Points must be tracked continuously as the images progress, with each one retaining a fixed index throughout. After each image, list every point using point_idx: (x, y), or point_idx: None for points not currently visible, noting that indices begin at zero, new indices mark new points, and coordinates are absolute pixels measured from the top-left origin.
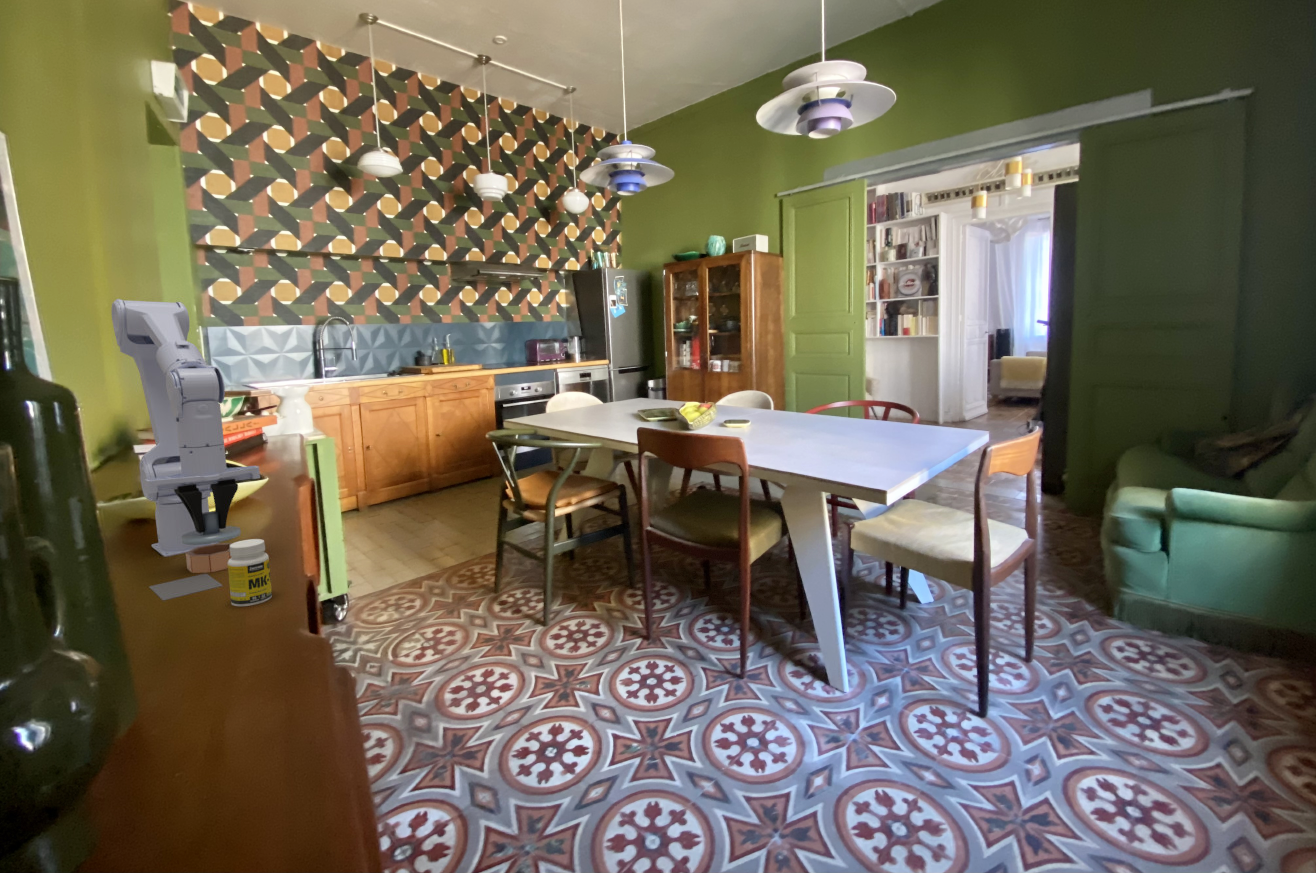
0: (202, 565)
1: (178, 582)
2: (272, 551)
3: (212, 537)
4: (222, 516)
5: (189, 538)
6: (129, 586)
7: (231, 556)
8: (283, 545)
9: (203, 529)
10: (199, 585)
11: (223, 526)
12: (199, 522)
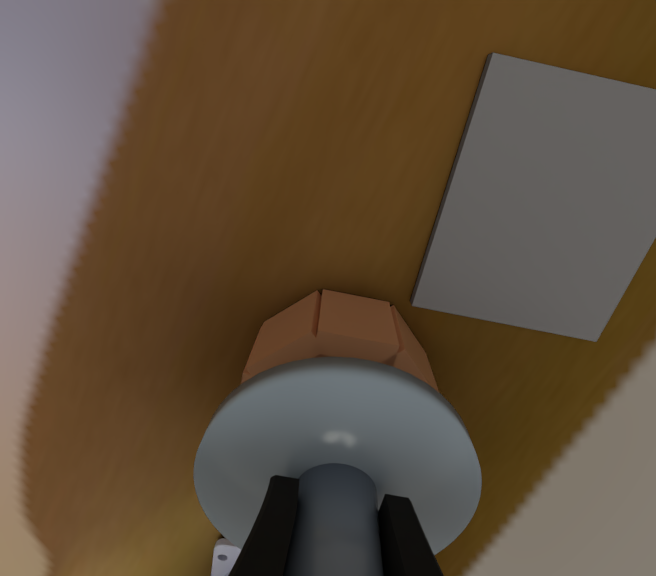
0: (413, 344)
1: (528, 291)
2: (118, 364)
3: (396, 400)
4: (278, 553)
5: (463, 483)
6: (583, 417)
7: (307, 320)
8: (61, 395)
9: (394, 509)
10: (527, 169)
11: (284, 485)
12: (428, 563)
